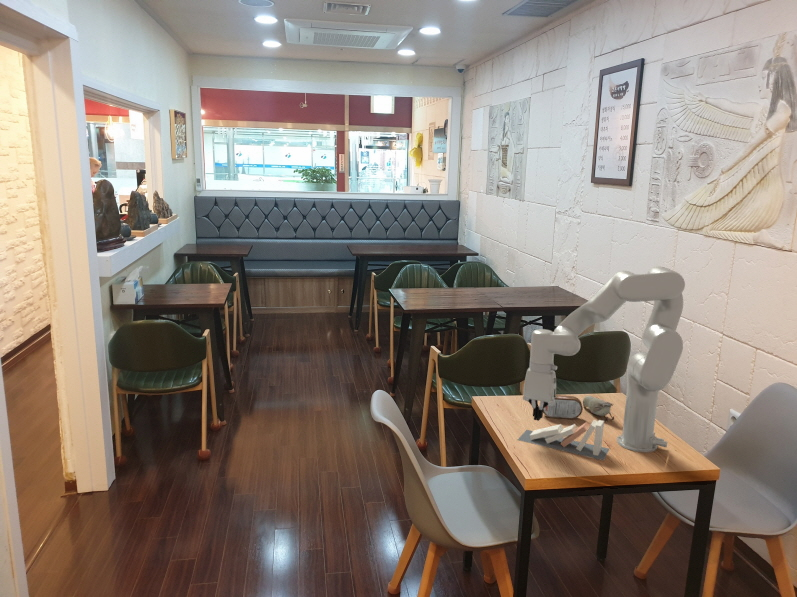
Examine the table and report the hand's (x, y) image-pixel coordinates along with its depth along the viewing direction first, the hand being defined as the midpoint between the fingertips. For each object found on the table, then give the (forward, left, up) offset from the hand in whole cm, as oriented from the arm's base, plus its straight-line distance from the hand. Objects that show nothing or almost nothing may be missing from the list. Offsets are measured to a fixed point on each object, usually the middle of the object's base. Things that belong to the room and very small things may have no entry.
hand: (537, 419), depth 202 cm
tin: (-2, -24, -8) cm, 25 cm away
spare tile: (-9, 0, -6) cm, 11 cm away
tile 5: (-20, 0, -7) cm, 21 cm away
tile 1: (+1, 0, -6) cm, 6 cm away
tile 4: (-15, 0, -6) cm, 16 cm away
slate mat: (-9, 0, -7) cm, 12 cm away
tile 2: (-4, 0, -6) cm, 7 cm away
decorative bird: (-13, -34, -8) cm, 37 cm away
